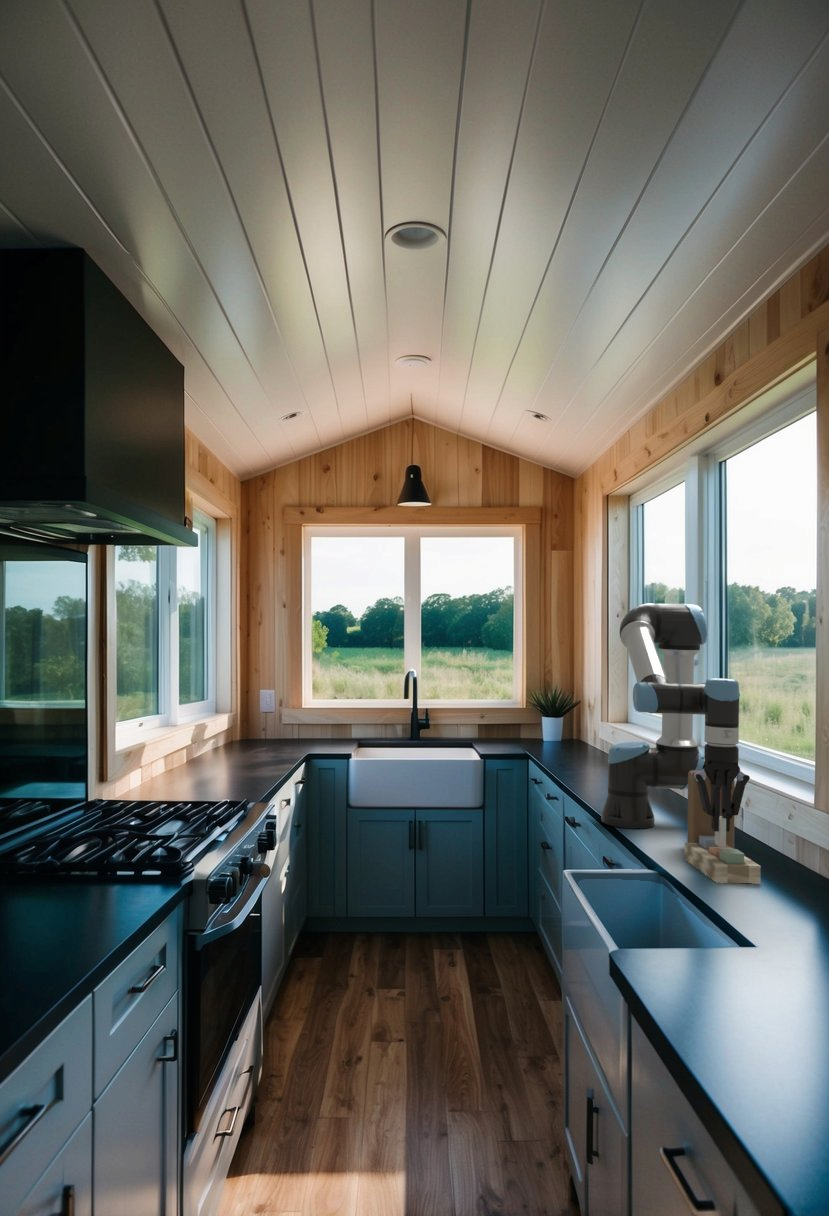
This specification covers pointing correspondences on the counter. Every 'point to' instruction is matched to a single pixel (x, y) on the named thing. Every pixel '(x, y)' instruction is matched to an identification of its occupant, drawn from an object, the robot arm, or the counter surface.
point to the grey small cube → (707, 842)
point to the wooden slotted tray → (722, 866)
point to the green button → (731, 856)
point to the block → (703, 813)
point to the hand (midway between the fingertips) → (720, 845)
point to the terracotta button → (715, 850)
